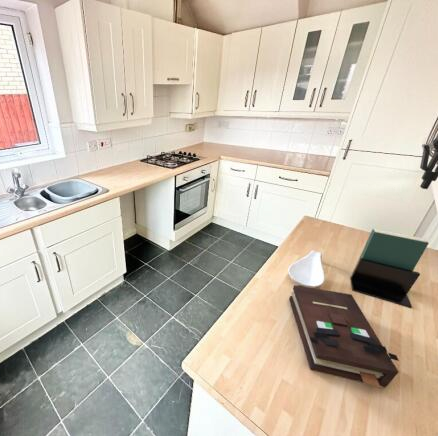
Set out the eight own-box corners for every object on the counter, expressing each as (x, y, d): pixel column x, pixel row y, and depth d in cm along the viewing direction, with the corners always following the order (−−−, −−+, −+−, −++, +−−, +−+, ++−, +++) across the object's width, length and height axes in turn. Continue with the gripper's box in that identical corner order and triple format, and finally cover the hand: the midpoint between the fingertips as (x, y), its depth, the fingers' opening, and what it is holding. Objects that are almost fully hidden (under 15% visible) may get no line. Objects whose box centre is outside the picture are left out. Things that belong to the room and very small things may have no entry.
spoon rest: (317, 297, 86) (323, 282, 83) (282, 282, 93) (286, 268, 90) (329, 265, 102) (335, 251, 98) (298, 254, 109) (303, 241, 105)
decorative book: (353, 288, 80) (413, 382, 55) (345, 304, 84) (397, 399, 58) (289, 278, 85) (317, 360, 59) (283, 293, 88) (307, 377, 63)
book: (425, 238, 82) (429, 242, 80) (398, 286, 90) (401, 291, 88) (372, 228, 89) (374, 231, 86) (352, 273, 97) (353, 277, 94)
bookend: (404, 293, 87) (419, 272, 82) (411, 308, 82) (426, 286, 77) (349, 278, 95) (360, 257, 90) (352, 290, 89) (363, 269, 84)
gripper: (480, 125, 86) (442, 187, 98) (429, 123, 92) (399, 182, 104) (491, 128, 81) (450, 194, 92) (436, 126, 87) (404, 188, 98)
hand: (423, 187), depth 98 cm, fingers closed
